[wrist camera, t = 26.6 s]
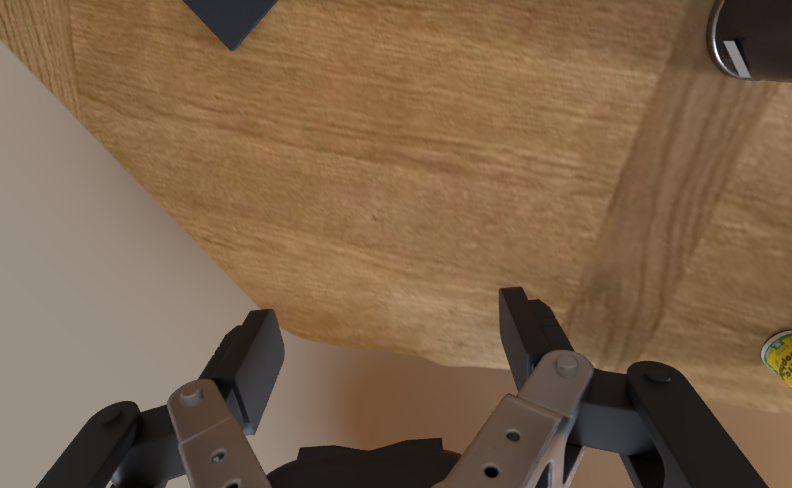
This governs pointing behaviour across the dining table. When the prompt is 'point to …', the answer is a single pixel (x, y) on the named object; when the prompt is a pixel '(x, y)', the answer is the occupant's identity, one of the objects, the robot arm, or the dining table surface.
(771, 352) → the supplement bottle
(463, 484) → the robot arm
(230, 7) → the placemat
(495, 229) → the dining table surface
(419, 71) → the dining table surface
